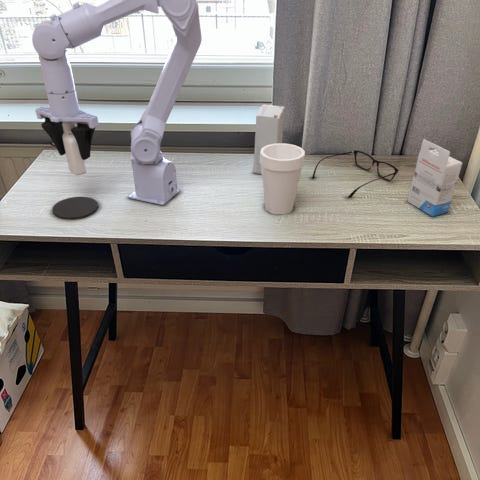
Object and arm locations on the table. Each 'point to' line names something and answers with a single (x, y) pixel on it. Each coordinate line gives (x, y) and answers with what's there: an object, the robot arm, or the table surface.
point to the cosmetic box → (267, 130)
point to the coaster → (75, 208)
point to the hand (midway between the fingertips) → (74, 155)
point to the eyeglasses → (364, 169)
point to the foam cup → (281, 175)
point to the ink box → (434, 179)
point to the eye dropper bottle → (72, 150)
